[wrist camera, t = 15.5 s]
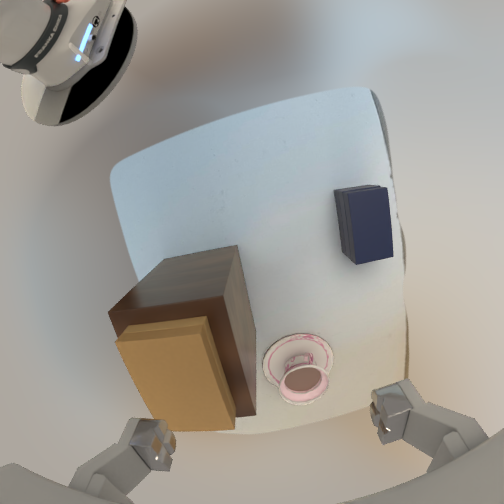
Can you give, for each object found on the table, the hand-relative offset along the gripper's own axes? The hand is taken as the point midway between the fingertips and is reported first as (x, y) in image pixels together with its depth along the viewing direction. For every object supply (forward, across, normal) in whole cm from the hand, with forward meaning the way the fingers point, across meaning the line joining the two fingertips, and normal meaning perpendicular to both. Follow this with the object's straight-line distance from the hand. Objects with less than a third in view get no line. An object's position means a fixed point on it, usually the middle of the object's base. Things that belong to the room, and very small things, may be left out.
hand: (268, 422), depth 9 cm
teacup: (+31, -3, +21) cm, 38 cm away
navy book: (+27, -14, -1) cm, 31 cm away
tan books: (+13, +8, +7) cm, 17 cm away
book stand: (+31, +8, +7) cm, 33 cm away
